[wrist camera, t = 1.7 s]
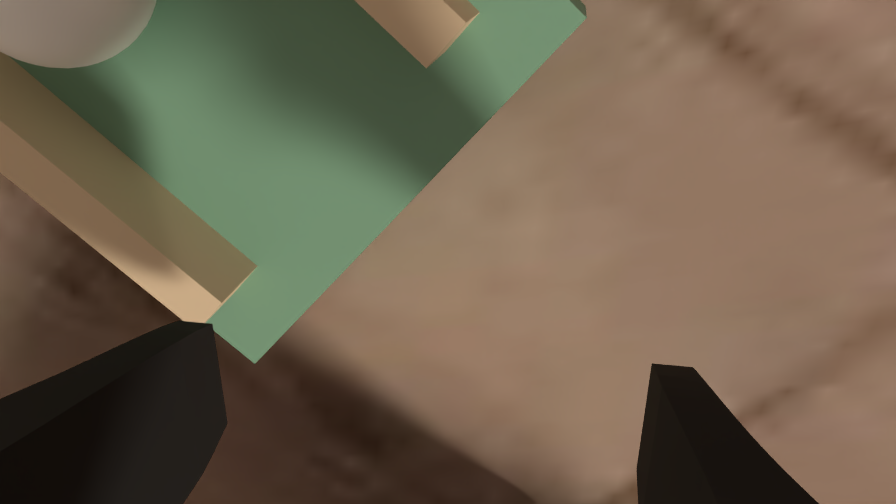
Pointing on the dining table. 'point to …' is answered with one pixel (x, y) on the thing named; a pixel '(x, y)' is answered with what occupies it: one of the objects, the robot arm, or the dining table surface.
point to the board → (264, 139)
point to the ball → (70, 29)
